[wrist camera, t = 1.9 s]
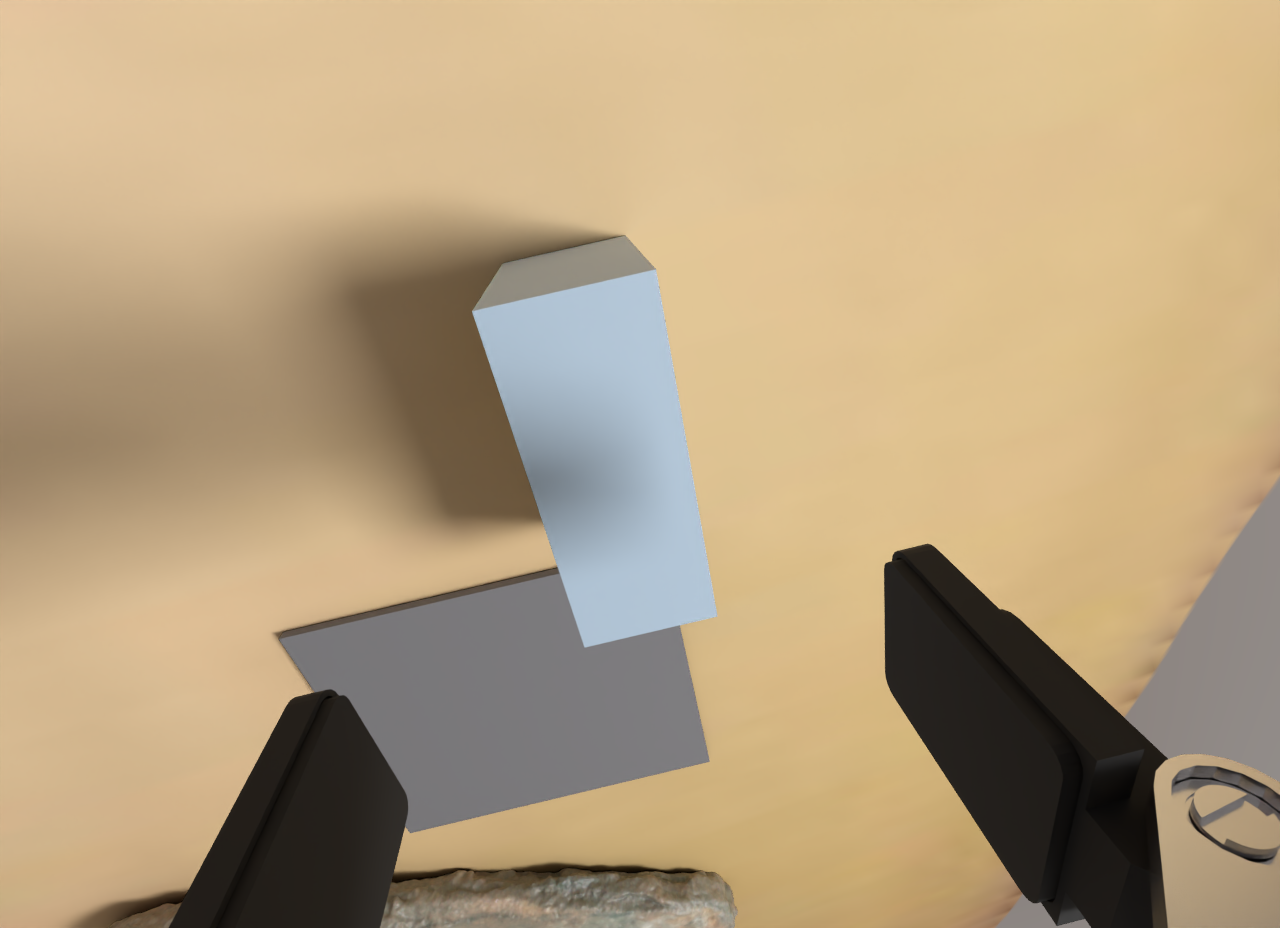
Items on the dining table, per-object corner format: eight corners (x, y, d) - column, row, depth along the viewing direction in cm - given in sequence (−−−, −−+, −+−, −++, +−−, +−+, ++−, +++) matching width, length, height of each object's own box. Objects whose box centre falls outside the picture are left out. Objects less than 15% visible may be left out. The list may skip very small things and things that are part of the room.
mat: (283, 632, 24) (278, 639, 23) (661, 543, 24) (662, 549, 24) (412, 825, 30) (410, 833, 30) (708, 754, 30) (709, 761, 30)
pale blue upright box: (501, 263, 18) (469, 311, 12) (625, 235, 18) (655, 269, 12) (578, 519, 23) (583, 648, 17) (676, 496, 23) (717, 616, 17)
